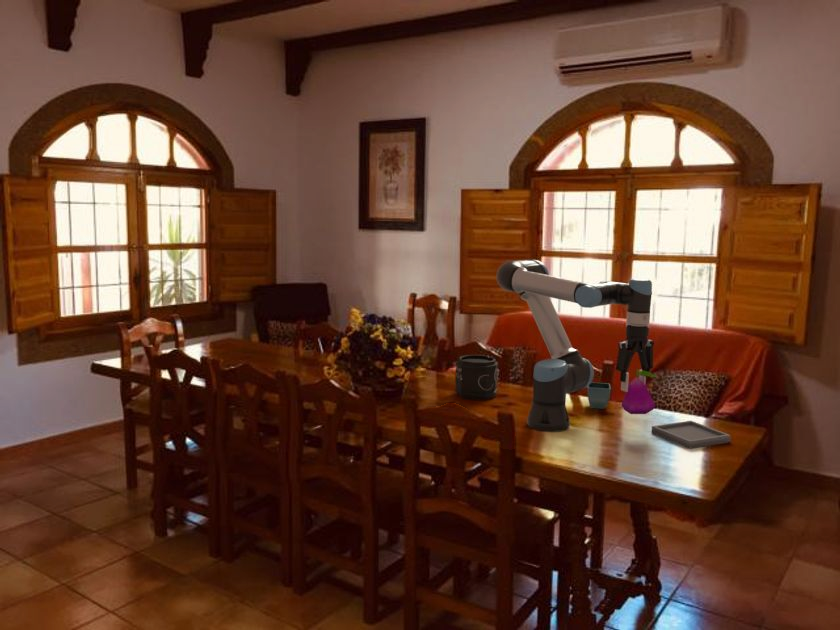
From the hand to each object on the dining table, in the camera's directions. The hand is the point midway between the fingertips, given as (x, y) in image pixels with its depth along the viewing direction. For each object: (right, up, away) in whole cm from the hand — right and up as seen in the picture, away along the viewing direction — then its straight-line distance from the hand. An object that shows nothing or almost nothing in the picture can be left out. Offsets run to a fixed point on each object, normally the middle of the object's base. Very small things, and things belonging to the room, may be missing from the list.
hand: (632, 389), depth 249 cm
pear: (+2, -7, +1) cm, 8 cm away
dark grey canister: (-50, -8, +53) cm, 73 cm away
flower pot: (-3, -11, +36) cm, 38 cm away
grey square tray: (+20, -16, 0) cm, 26 cm away
